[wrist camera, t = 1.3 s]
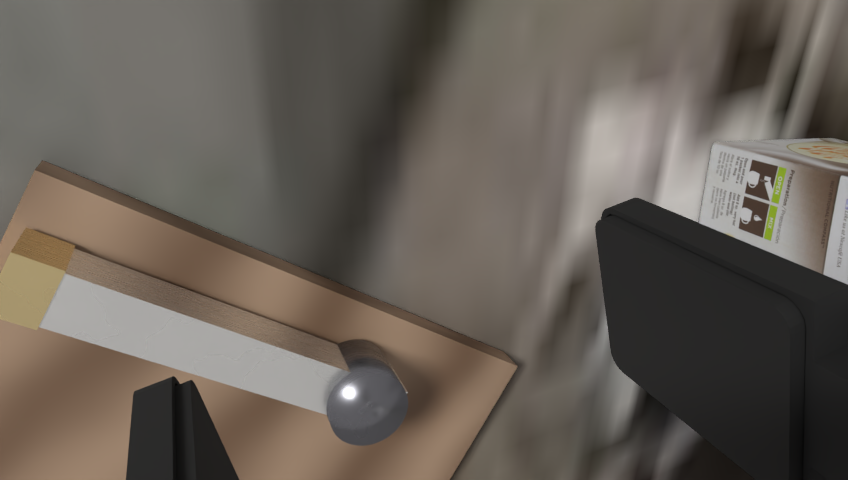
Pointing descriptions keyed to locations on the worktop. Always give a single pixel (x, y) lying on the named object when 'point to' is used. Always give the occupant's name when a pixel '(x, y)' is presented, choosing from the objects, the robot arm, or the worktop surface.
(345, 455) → the lock board
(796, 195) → the coffee box
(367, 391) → the bar
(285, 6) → the worktop surface
